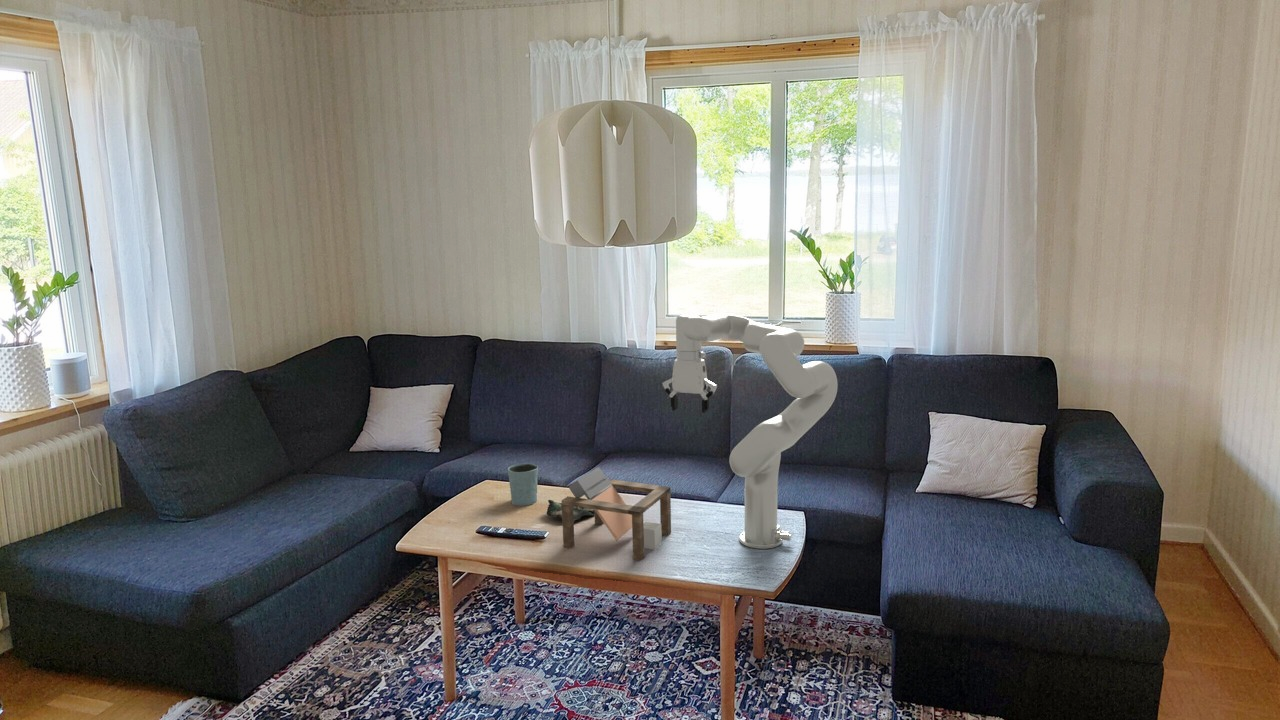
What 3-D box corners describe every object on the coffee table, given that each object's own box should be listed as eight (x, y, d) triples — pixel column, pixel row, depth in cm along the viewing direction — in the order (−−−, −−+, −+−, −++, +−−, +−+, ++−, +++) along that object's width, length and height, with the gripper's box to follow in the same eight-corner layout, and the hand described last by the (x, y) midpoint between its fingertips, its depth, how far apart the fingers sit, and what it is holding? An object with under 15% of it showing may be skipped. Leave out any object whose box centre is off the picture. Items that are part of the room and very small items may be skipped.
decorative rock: (570, 490, 285) (608, 493, 278) (571, 507, 285) (609, 511, 278) (537, 504, 268) (576, 508, 261) (538, 523, 269) (578, 527, 262)
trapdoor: (629, 528, 257) (638, 522, 255) (608, 545, 245) (618, 539, 243) (590, 473, 259) (599, 466, 258) (567, 487, 247) (577, 480, 245)
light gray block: (645, 521, 249) (646, 540, 250) (638, 527, 245) (639, 547, 246) (661, 523, 247) (661, 543, 248) (654, 530, 243) (654, 549, 244)
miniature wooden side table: (671, 532, 256) (670, 487, 253) (640, 560, 236) (639, 511, 234) (598, 521, 266) (596, 477, 264) (563, 547, 247) (561, 500, 244)
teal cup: (506, 506, 281) (505, 472, 279) (512, 496, 291) (510, 463, 289) (537, 506, 281) (535, 472, 278) (541, 496, 291) (540, 462, 288)
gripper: (720, 354, 253) (720, 410, 256) (667, 352, 260) (668, 405, 263) (712, 359, 246) (712, 415, 250) (657, 356, 253) (658, 411, 256)
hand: (689, 410), depth 256 cm, fingers open, 9 cm apart
